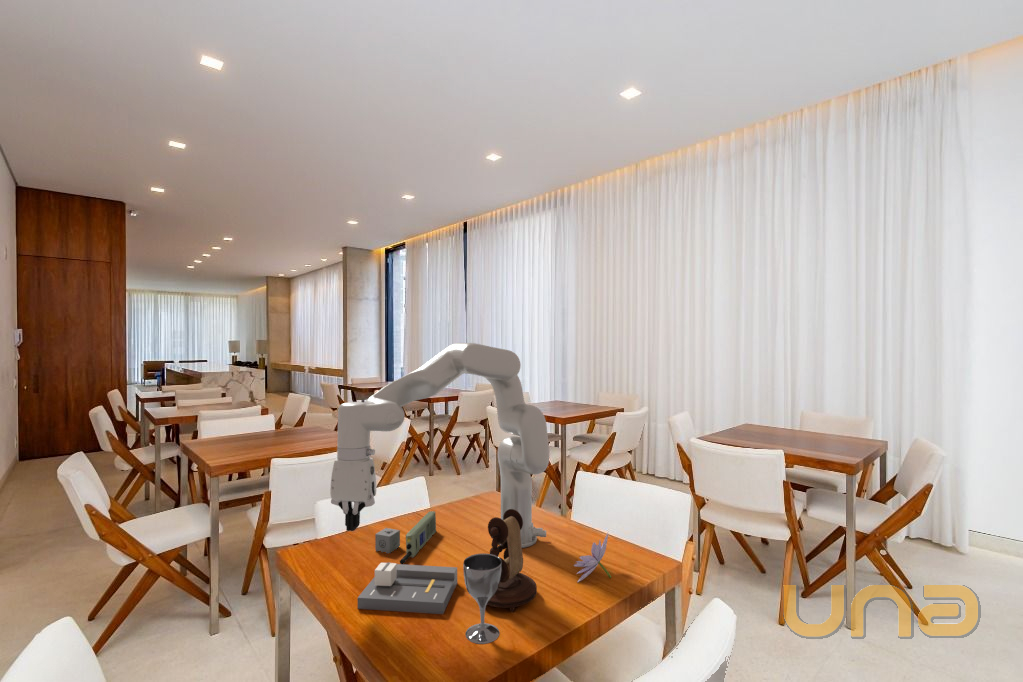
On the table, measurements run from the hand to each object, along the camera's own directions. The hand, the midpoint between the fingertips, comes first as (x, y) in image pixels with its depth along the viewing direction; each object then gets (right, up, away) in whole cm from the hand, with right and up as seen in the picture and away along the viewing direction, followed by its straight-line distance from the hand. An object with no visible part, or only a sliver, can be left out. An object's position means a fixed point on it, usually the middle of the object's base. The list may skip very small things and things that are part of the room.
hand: (352, 528), depth 118 cm
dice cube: (+2, -16, +25) cm, 30 cm away
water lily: (+60, -16, +9) cm, 63 cm away
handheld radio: (+11, -16, +26) cm, 33 cm away
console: (+14, -15, -1) cm, 21 cm away
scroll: (+37, -16, -2) cm, 41 cm away
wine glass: (+33, -16, -17) cm, 40 cm away
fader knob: (+8, -12, -1) cm, 15 cm away
